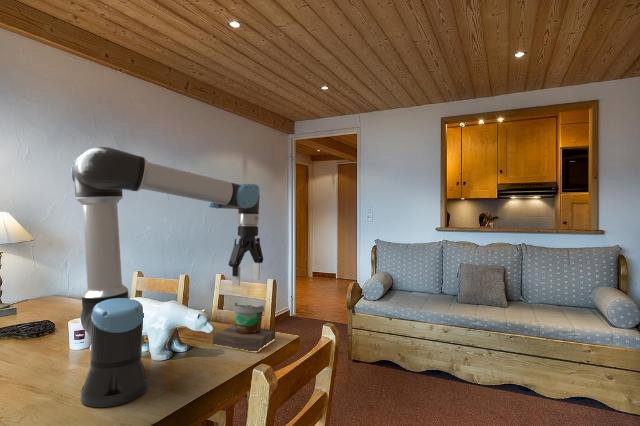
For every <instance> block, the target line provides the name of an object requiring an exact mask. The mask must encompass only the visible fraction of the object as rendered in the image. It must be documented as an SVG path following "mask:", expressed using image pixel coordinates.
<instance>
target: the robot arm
mask: <svg viewBox="0 0 640 426" xmlns="http://www.w3.org/2000/svg"><path fill="white" fill-rule="evenodd" d="M70 171H71V172H70V175H71V178H72V181H73V185H74V198H75V200H76V201H78V202H79V203H80V204H81V205H82V208H81V209H82V219H83V220H82V221H83V223H82V224H83V233H84V234H83V236H84V249H85V251H84V253H85V265H86V282H87V288H86V290H85V291H84V292H83V293H82V294H81V306H82V309H81V312H80V313H81V314H80V324H81V326H82V329H83V330H84V331H85V332H86V333H87V335H88V336H89V338H90V364H89V365H90V366H89V368H88V369H89V370H88V372H87V375H86V377H85V381H84V384H83V385H82V388H81V390H80V402H81V403H82V404H83V405H84V406H87V407H91V408H109V407H115V406H120V405H123V404H126V403H129V402H132V401H134V400H136V399H139V398H140V397H141V396H143V395H144V394H145V393H146V392H147V390H148V387H149V386H148V385H149V379H148V376H147V374H146V369H145V365H144V362H143V360H142V352H143V340H142V330H143V318H144V313H143V305H142V303H141V302H140V301H138V300H137V299H133V298H132V299H131V298H130V297H129V296H130V295H129V288H128V287H127V286H125V285H124V284H123V279H122V276H123V275H122V262H121V246H120V245H121V243H120V229H119V212H118V204H119V202H120V201H121V200H122V199H123V198H124V197H123V190H124V191H125V190H126V191H132V192H138V191H140V190H147V191H150V192H151V191H152V192H155V193H162V194H167V195H171V196H172V195H173V196H177V197H181V198H188V199H192V200H198V201H203V202H204V201H205V202H206V204H207V206H208V207H209V208H211V209H212V208H213V209H227V210H238V211H237V213H238V215H237V224H238V227H237V235H238V237H240V238H235V239H234V245H233V247H232V251H231V254H230V258H229V261H228V266H229V267H231V268H232V274H231V275H232V277H231V278H232V279H231V280H232V282H231V285H232V286H238V287H239V286H241V266H240V265H241V263H242V260H243V258H244V256H245V254H246V253H247V252H248V251H249V253H250V255H251V257H252V260H253V262H252V280H253V281H260V275H261V274H260V273H261V271H260V270H261V264H262V263H263V262H264V256H263V250H262V246H261V244H260V243H261V240H260V239H261V238H260V237H257V236H258V235H259V227H258V226H257V225H259V220H260V217H259V216H260V215H259V214H260V198H261V197H260V187H259V185H258V184H255V183H241V184H239V183H235V182H230V181H227V180H222V179H218V178H213V177H210V176H206V175H202V174H197V173H194V172H190V171H186V170H181V169H178V168H174V167H170V166H166V165H161V164H157V163H153V162H149V161H148V160H147V159H146V157H144V156H140V155H136V154H133V153H131V152H126V151H123V150H121V149H115V148H113V147H108V146H96V147H92V148H89V149H88V150H86V151H85V152H83V153H82V154H80V155H79V156H78V157H77V158H76V159H75V160H74V161H73V164H72V166H71V169H70Z"/></svg>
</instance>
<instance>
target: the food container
mask: <svg viewBox="0 0 640 426" xmlns="http://www.w3.org/2000/svg"><path fill="white" fill-rule="evenodd" d="M232 311H233V312H234V316H235V318H234V319H235V320H234V321H235V325H236V332H237V333H239V334H246V335H248V334H256V333H259V332H260V329H261V328H262V320H263V312H264V311H265V308H264V305H259V306H254V305H249V304H247V305H241V304H238V302H235V303H234V305H233V308H232Z"/></svg>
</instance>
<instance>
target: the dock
mask: <svg viewBox="0 0 640 426" xmlns="http://www.w3.org/2000/svg"><path fill="white" fill-rule="evenodd" d="M276 332H277V331H276V330H275V329H270V328H262V327H261V329H260V332H259V333H256V334H248V335H246V334H239V333H237V332H236V324H233V325H231V326H229V327H227V328H225V329H222V330H220V331H218V332H216V333H214V334H212V345H213V344H217V345H222V346H228V347H232V348H238V349H244V350H248V351H258V350H259V349H260V348H262V347H263V346H264V345H266V344H267V343H269V342H270V341H272V340H273V339H275V340H276Z"/></svg>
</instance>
